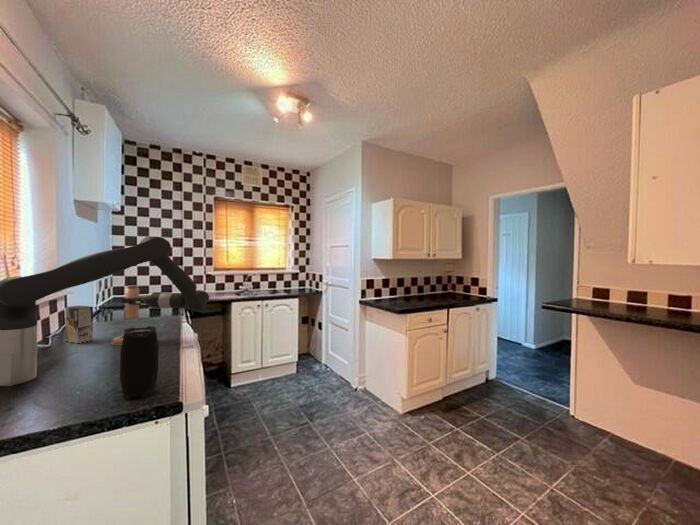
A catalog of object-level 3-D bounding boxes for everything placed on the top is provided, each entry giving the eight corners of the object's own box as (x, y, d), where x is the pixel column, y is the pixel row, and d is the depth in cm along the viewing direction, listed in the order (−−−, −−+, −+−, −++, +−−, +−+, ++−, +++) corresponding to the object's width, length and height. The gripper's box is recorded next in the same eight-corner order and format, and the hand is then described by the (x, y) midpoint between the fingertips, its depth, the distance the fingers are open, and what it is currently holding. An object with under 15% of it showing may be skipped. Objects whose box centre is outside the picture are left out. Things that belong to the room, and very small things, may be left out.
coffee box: (93, 340, 144) (94, 306, 144) (78, 344, 138) (78, 308, 138) (79, 338, 147) (80, 305, 147) (64, 342, 141) (64, 307, 141)
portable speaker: (114, 396, 89) (115, 329, 89) (148, 385, 97) (149, 324, 97) (129, 404, 85) (130, 334, 85) (163, 392, 93) (164, 327, 93)
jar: (134, 319, 142) (134, 286, 142) (122, 319, 142) (122, 286, 141) (141, 316, 147) (141, 285, 147) (130, 316, 147) (130, 285, 147)
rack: (133, 345, 139) (134, 339, 139) (111, 344, 138) (111, 339, 138) (150, 338, 151) (150, 333, 151) (129, 337, 150) (129, 332, 150)
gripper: (171, 290, 152) (136, 290, 151) (154, 294, 138) (115, 293, 137) (171, 305, 152) (136, 305, 151) (154, 310, 138) (115, 310, 137)
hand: (126, 299), depth 144 cm, fingers closed on jar, 5 cm apart
